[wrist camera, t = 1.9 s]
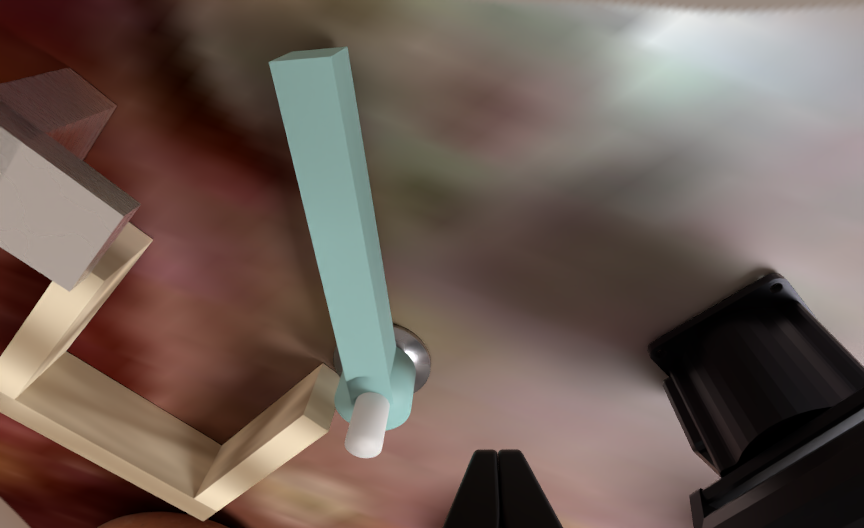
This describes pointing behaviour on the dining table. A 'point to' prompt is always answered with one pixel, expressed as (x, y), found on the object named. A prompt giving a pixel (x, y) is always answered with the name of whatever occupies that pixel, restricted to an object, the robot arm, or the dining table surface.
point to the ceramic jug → (160, 521)
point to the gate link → (345, 241)
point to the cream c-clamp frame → (144, 404)
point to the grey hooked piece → (77, 187)
